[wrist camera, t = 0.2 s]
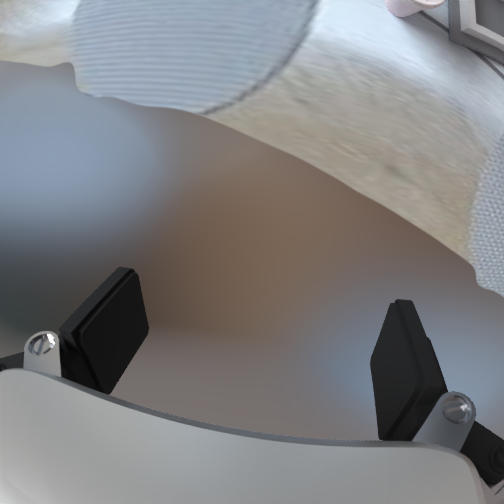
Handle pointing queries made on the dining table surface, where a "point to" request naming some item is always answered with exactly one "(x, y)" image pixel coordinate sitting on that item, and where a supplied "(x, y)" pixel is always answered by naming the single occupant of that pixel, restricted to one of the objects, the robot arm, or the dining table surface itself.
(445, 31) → the dining table surface
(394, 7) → the smoothie
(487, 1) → the dock
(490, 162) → the dining table surface
